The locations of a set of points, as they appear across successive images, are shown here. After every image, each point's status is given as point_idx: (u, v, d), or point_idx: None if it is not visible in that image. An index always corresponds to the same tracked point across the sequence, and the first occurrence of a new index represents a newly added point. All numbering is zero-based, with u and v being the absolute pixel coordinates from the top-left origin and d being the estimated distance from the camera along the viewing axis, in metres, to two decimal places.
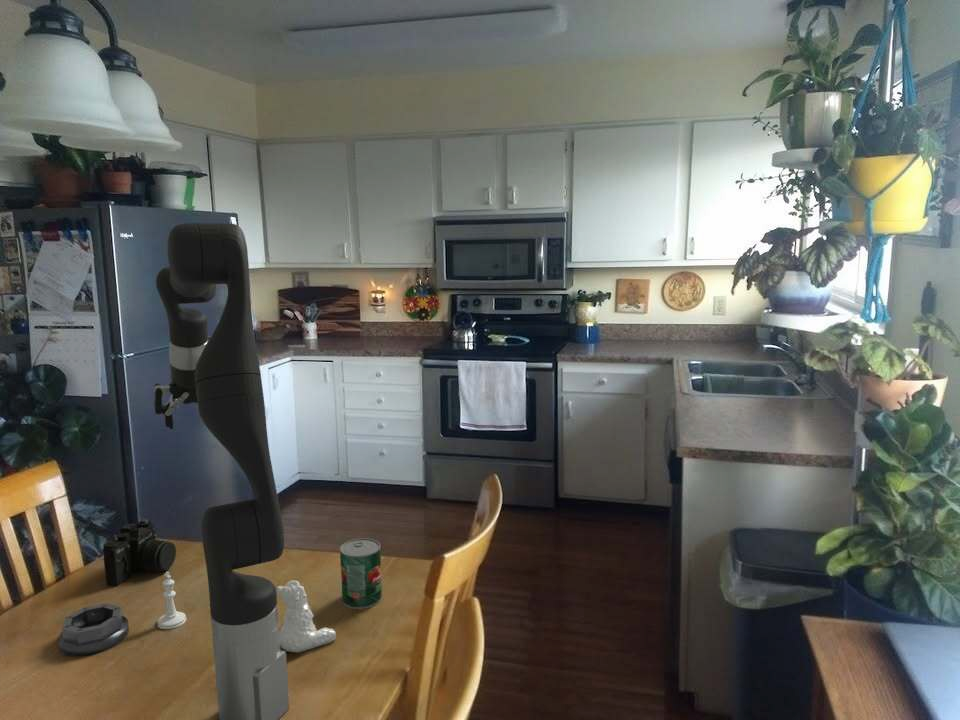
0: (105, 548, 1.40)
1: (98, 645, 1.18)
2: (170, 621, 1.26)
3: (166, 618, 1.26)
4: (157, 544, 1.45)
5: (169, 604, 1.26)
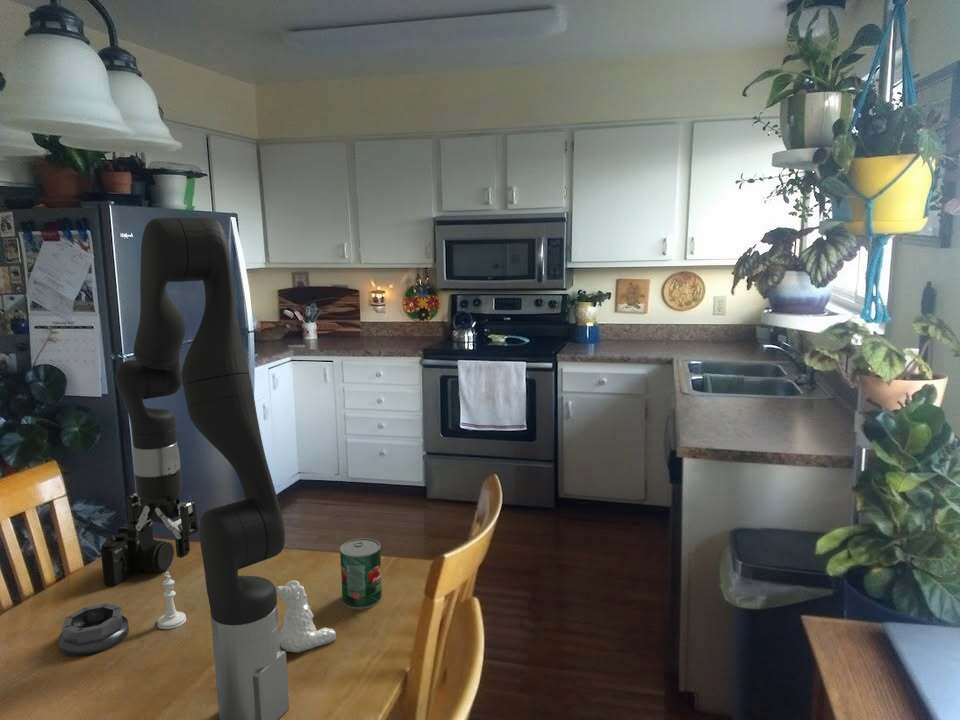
0: (103, 549, 1.40)
1: (98, 645, 1.18)
2: (170, 621, 1.26)
3: (166, 618, 1.26)
4: (155, 544, 1.45)
5: (169, 604, 1.26)
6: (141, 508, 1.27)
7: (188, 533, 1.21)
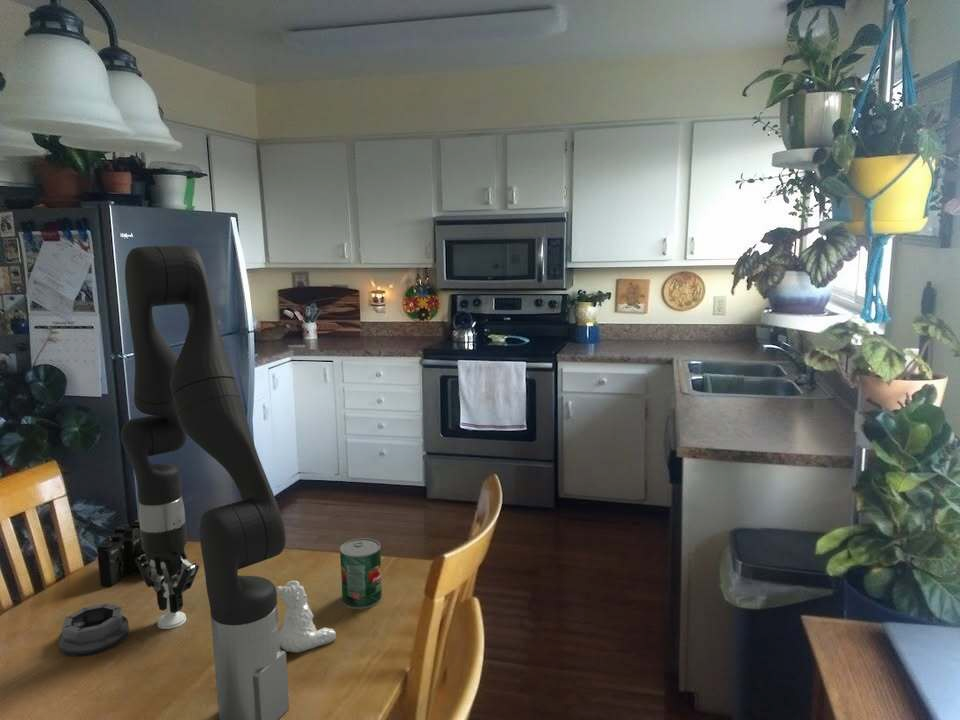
0: (99, 549, 1.39)
1: (98, 645, 1.18)
2: (170, 621, 1.26)
3: (166, 618, 1.26)
4: None
5: (169, 604, 1.26)
6: None
7: (181, 590, 1.24)
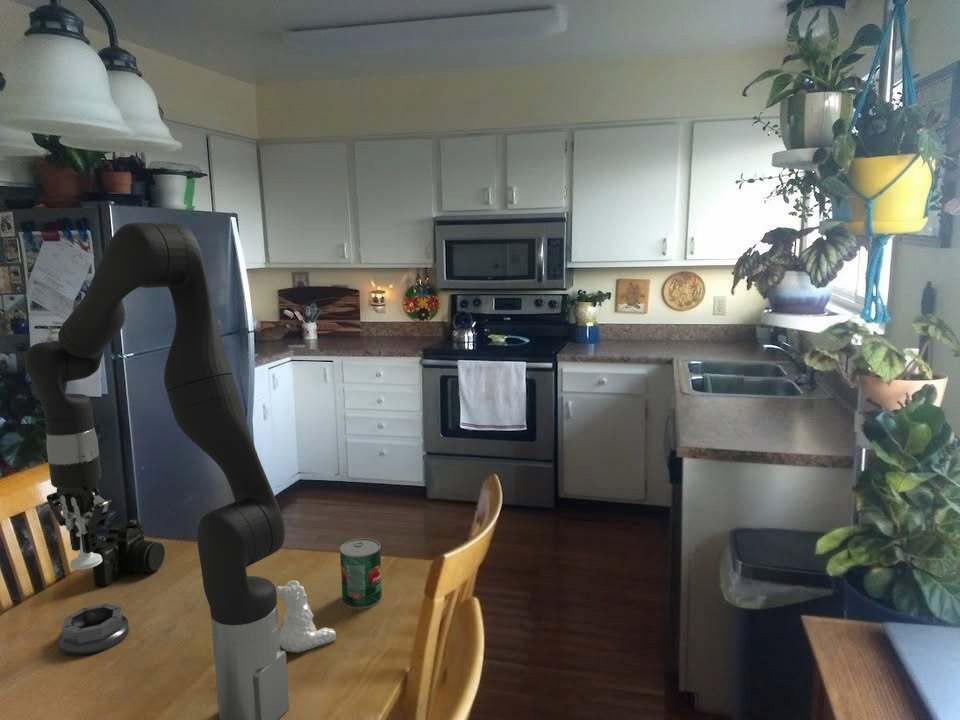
0: None
1: (98, 645, 1.18)
2: (83, 562, 1.18)
3: (79, 559, 1.19)
4: (146, 545, 1.45)
5: None
6: None
7: None
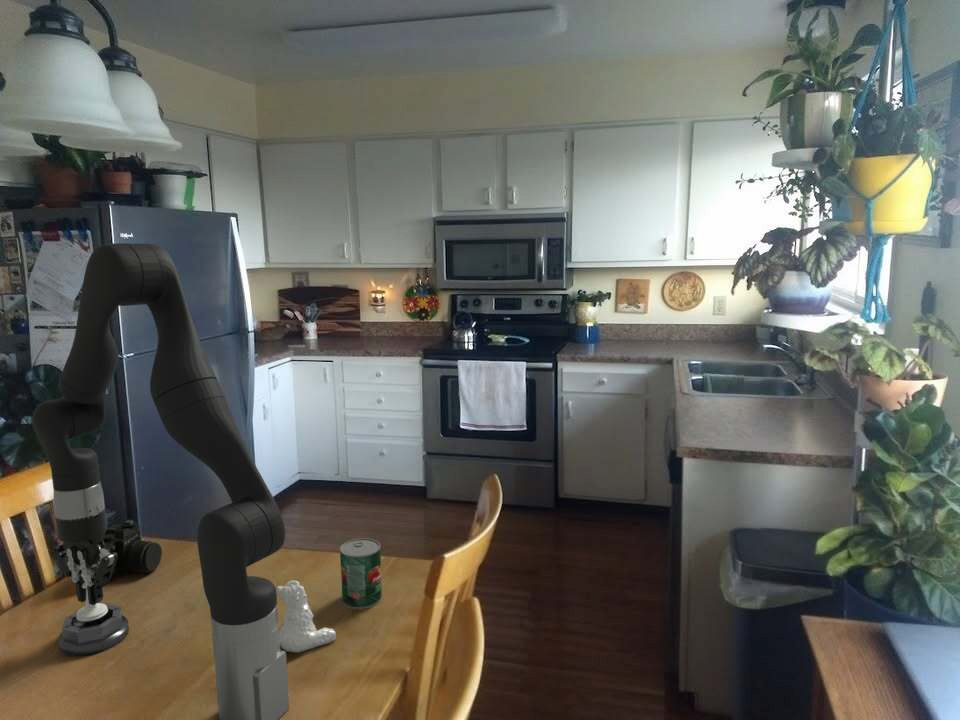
0: None
1: (98, 645, 1.18)
2: (89, 613, 1.20)
3: (85, 610, 1.21)
4: (143, 545, 1.45)
5: None
6: None
7: None
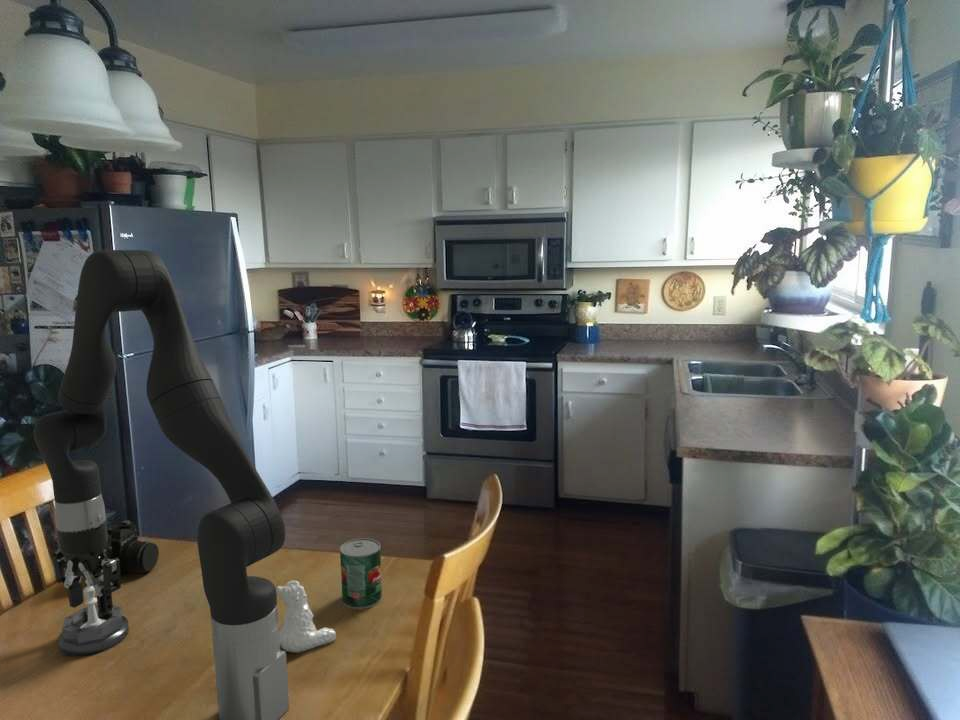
0: None
1: (98, 645, 1.18)
2: None
3: (87, 626, 1.21)
4: (140, 545, 1.45)
5: (90, 612, 1.21)
6: None
7: (109, 590, 1.17)
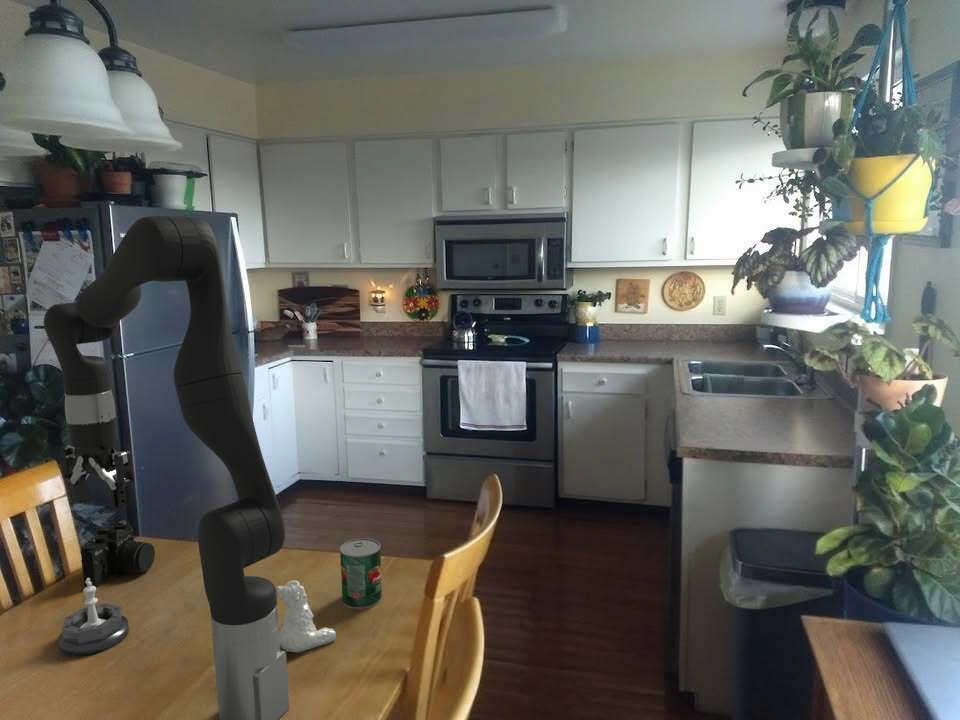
0: (83, 551, 1.39)
1: (98, 645, 1.18)
2: None
3: (87, 626, 1.21)
4: (136, 545, 1.45)
5: (90, 612, 1.21)
6: (76, 461, 1.23)
7: (123, 483, 1.17)
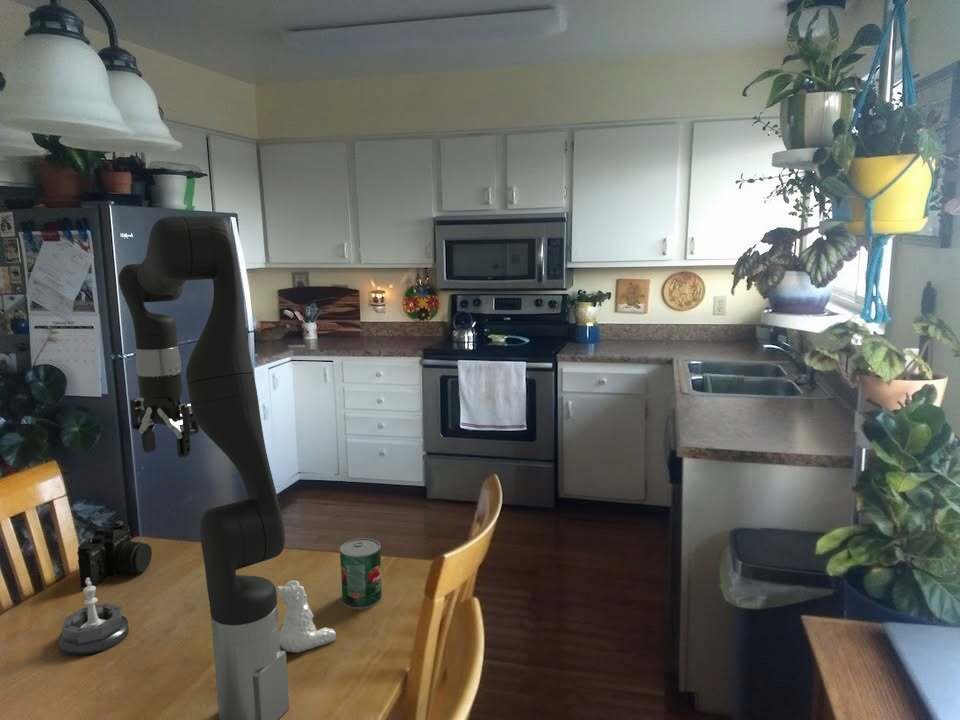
0: (79, 551, 1.39)
1: (98, 645, 1.18)
2: None
3: (87, 626, 1.21)
4: (133, 546, 1.45)
5: (90, 611, 1.21)
6: (144, 413, 1.32)
7: (189, 432, 1.26)
